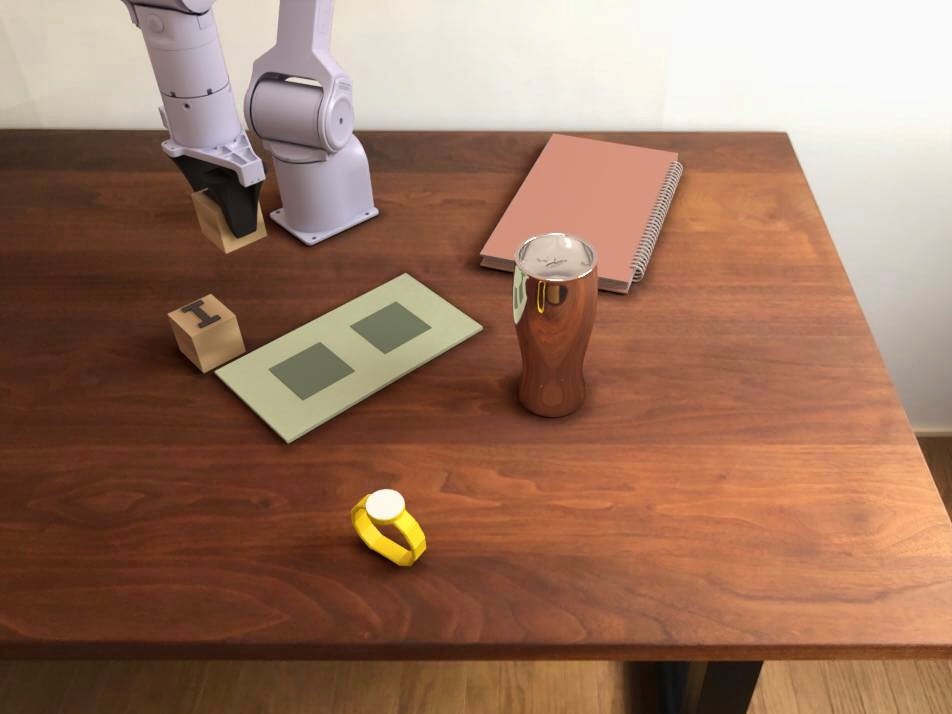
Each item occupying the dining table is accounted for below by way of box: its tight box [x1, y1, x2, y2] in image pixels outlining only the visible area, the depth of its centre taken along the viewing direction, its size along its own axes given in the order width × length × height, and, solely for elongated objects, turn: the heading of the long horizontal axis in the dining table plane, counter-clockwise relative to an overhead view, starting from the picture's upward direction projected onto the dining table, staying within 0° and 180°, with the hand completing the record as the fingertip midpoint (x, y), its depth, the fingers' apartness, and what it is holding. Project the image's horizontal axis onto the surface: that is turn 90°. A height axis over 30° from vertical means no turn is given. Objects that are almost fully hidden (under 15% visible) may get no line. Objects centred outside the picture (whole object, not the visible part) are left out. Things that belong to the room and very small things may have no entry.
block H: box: [190, 188, 268, 254], centre depth 84 cm, size 4×4×5 cm
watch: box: [350, 488, 427, 567], centre depth 65 cm, size 6×3×6 cm, turn 58°
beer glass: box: [511, 232, 599, 418], centre depth 75 cm, size 7×7×15 cm
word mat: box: [214, 272, 484, 444], centre depth 84 cm, size 22×12×1 cm, turn 134°
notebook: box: [479, 133, 684, 295], centre depth 101 cm, size 27×17×2 cm, turn 163°
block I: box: [166, 293, 247, 374], centre depth 82 cm, size 4×4×5 cm
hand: (231, 222), depth 84 cm, fingers closed on block H, 4 cm apart
